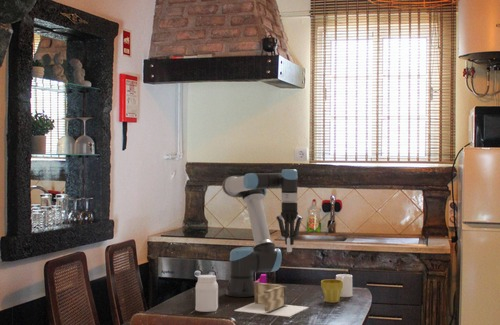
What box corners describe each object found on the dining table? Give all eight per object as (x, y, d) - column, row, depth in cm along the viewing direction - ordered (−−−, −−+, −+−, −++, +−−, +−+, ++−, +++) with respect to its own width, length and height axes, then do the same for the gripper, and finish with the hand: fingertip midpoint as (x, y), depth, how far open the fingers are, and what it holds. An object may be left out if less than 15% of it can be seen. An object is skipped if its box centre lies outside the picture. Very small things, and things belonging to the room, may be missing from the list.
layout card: (234, 311, 317) (234, 310, 317) (256, 302, 337) (256, 301, 337) (289, 317, 305) (289, 316, 305) (308, 307, 324) (308, 306, 324)
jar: (215, 311, 315) (215, 278, 315) (194, 311, 316) (194, 278, 316) (218, 306, 327) (218, 274, 327) (198, 306, 327) (198, 273, 327)
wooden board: (283, 303, 328) (283, 284, 328) (287, 304, 327) (287, 285, 327) (263, 311, 312) (263, 291, 312) (267, 311, 311) (267, 291, 311)
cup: (334, 298, 347) (334, 277, 347) (336, 293, 359) (336, 273, 359) (350, 298, 346) (350, 278, 346) (353, 294, 357) (353, 274, 357)
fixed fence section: (253, 303, 333) (253, 281, 333) (255, 302, 335) (255, 281, 335) (280, 305, 326) (280, 284, 326) (282, 305, 328) (282, 283, 328)
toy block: (266, 287, 378) (265, 273, 378) (266, 289, 371) (266, 275, 371) (237, 287, 377) (237, 273, 377) (237, 289, 371) (237, 275, 371)
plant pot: (321, 303, 334) (321, 282, 334) (320, 299, 345) (320, 279, 345) (343, 303, 334) (343, 282, 334) (341, 299, 344) (341, 279, 344)
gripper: (273, 201, 334) (273, 251, 334) (298, 202, 328) (298, 253, 328) (280, 201, 340) (280, 250, 340) (305, 201, 334) (305, 251, 334)
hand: (289, 251), depth 334 cm, fingers closed
